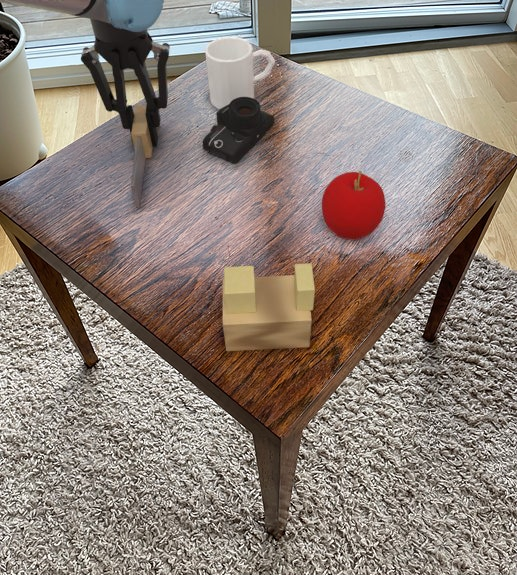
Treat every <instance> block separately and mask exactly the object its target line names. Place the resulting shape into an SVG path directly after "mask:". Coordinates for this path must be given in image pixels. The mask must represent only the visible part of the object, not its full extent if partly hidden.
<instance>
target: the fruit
mask: <svg viewBox="0 0 517 575" xmlns="http://www.w3.org/2000/svg"><path fill="white" fill-rule="evenodd" d="M321 212H322V217H323V222H324V223H325V225H326V226H327V228H328V229H329V230H330V231H331V232H332V233H333V234H335V235H336V236H337V237H338V238H340V239H345V240H359V239H363V238H366V237H367V236H369V235H370V234H372V233H373V232H374V231H375V230H377V228H378V227H379V225H380V224H381V222H383V218H384V217H385V216H384V215H385V212H386V197H385V193H384V189H383V188H382V186H381V185H380V184H379V183H378V182H377V181H376V180H375V179H373V178H372V177H370V176H368V175H367V174H364V173H362V171H361V170H358V172H357V171H349V172H345V173H341V174H339V175H337V176H336V177H335V178H333V179H332V180H330V182H329V183H328V184H327V186H326V187H325V189H324V191H323V194H322V197H321Z"/></svg>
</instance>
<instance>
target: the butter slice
mask: <svg viewBox="0 0 517 575" xmlns="http://www.w3.org/2000/svg"><path fill="white" fill-rule="evenodd" d="M293 275H294V289H295V300H296V310H297V311H303V310H310V311H313V310H314V306H315V305H314V303H315V293H316V287H315V280H314V272H313V264H312V263H295V264H294V274H293Z"/></svg>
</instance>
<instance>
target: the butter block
mask: <svg viewBox="0 0 517 575" xmlns="http://www.w3.org/2000/svg"><path fill="white" fill-rule="evenodd" d="M223 269H224V270H223V279H224V294H225V303H226V311H227V314H234V313H253V312H256V300H255V280H254V277H255V266H254V265H242V266H225V267H224V268H223Z"/></svg>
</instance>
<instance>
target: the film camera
mask: <svg viewBox="0 0 517 575" xmlns="http://www.w3.org/2000/svg"><path fill="white" fill-rule="evenodd" d="M215 115H216V124H214V125H213V126H212V127H211V128H210V131H208V133H207V134H206V135H205V136H204V138H203V140H202V149H203V150H204V151H206V152H208V153H209V154H212V155H215V156H217V157H219V158H221V159H223V160H225V161H226V162H230V163H232V164H238V163H239V162H240V161H241V160H242V159H243V158H244V157H245V156H246V155H247V154H248V153H249V152H250V151H251V150H252V149H253V148H254V147H255V146H256V145H257V144H258V143H259V142H260V141H261V140H262V139H263V138H264V137H265V136H266V133H267V132H268V131H269V130H270V129H271V128H272V126H273V125H274V123H275V115H273V114H271V113H268V112H266V111H263V110H261V104H260V102H259V101H258V100H256V99H255V98H254V99H253V98H250V97H239V98H236V99H234V100H232V101H231V102H230V104H228V105H226V106H225V107H223V108H221V109H218V110H217V111H216V113H215Z"/></svg>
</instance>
